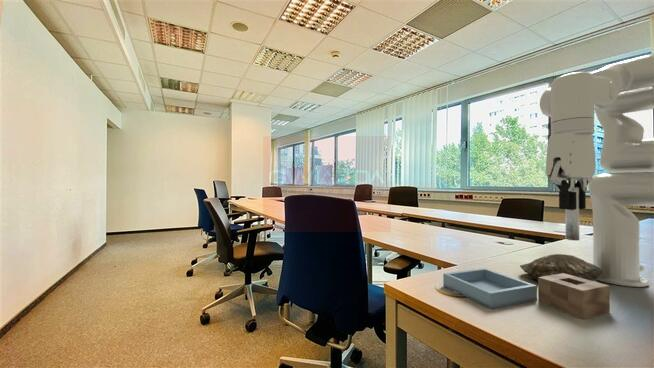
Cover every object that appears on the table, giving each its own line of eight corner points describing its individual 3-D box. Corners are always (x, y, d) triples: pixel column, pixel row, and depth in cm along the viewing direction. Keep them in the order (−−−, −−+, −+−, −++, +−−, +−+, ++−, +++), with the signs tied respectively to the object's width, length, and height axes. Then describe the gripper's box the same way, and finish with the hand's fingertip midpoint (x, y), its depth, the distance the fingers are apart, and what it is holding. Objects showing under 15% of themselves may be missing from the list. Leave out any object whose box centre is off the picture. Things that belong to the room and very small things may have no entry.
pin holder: (563, 297, 70) (563, 273, 70) (609, 312, 61) (609, 285, 61) (538, 302, 67) (538, 277, 67) (582, 319, 58) (582, 290, 58)
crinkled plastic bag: (505, 256, 88) (554, 241, 92) (510, 283, 88) (559, 267, 93) (557, 270, 72) (614, 251, 76) (564, 304, 72) (619, 283, 77)
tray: (484, 279, 82) (484, 268, 82) (537, 299, 68) (536, 285, 68) (443, 286, 78) (443, 273, 78) (490, 308, 63) (490, 293, 63)
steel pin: (569, 238, 66) (569, 187, 66) (582, 240, 63) (581, 187, 63) (563, 238, 65) (562, 187, 65) (575, 240, 63) (574, 187, 63)
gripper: (575, 133, 70) (576, 206, 70) (530, 130, 65) (530, 208, 65) (614, 128, 63) (614, 209, 63) (566, 123, 58) (567, 211, 58)
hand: (572, 208), depth 64 cm, fingers closed on steel pin, 2 cm apart
